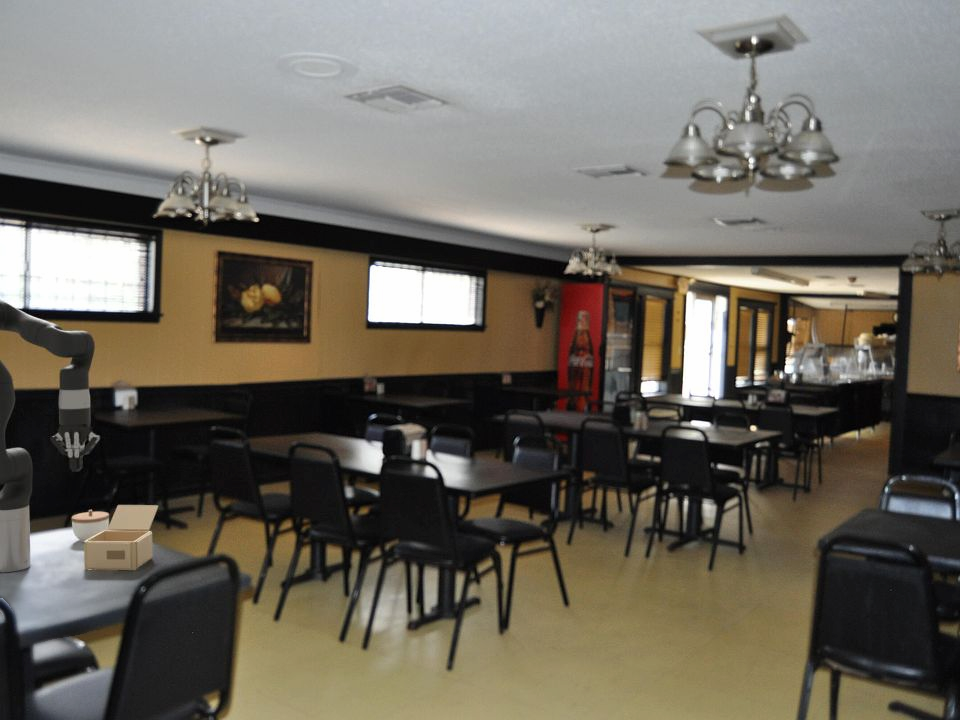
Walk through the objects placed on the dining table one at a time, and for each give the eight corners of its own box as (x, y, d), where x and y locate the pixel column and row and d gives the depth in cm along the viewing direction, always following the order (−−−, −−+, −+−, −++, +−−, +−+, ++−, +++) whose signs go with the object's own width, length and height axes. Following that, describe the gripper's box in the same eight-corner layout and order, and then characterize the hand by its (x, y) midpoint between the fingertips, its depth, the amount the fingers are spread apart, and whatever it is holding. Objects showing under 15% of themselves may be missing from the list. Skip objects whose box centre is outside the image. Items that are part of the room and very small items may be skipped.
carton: (81, 570, 237) (81, 542, 237) (102, 557, 250) (102, 530, 249) (135, 571, 237) (135, 542, 237) (153, 558, 250) (153, 531, 249)
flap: (107, 529, 250) (117, 504, 256) (107, 530, 250) (118, 506, 257) (148, 529, 249) (157, 505, 256) (149, 530, 250) (158, 506, 257)
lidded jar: (71, 537, 272) (70, 508, 271) (108, 533, 277) (107, 505, 276) (73, 546, 262) (72, 515, 262) (111, 541, 267) (110, 512, 267)
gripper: (105, 404, 232) (107, 468, 233) (57, 404, 232) (58, 468, 233) (92, 407, 224) (94, 473, 225) (42, 407, 224) (44, 473, 225)
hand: (76, 470), depth 229 cm, fingers closed
